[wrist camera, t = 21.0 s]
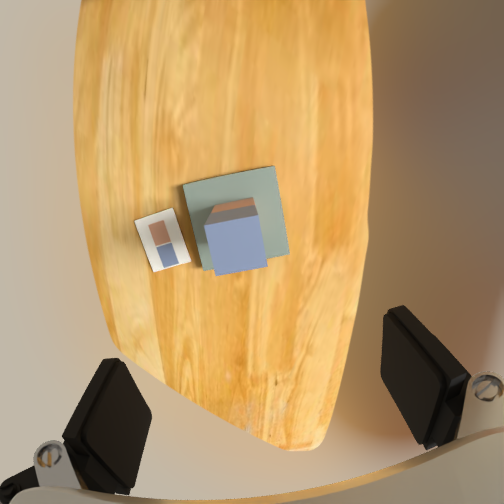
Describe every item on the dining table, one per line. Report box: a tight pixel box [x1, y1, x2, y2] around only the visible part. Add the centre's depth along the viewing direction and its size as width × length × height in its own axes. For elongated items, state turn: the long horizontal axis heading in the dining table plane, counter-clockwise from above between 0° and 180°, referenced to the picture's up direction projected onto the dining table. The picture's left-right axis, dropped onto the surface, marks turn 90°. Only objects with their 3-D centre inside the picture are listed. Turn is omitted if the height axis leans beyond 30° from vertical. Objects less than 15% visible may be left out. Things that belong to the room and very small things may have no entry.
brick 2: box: [204, 205, 268, 276], centre depth 31 cm, size 5×5×6 cm
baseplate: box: [183, 166, 290, 271], centre depth 40 cm, size 12×12×2 cm
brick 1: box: [211, 197, 256, 213], centre depth 36 cm, size 5×5×6 cm
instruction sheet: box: [134, 208, 191, 272], centre depth 41 cm, size 8×6×1 cm
